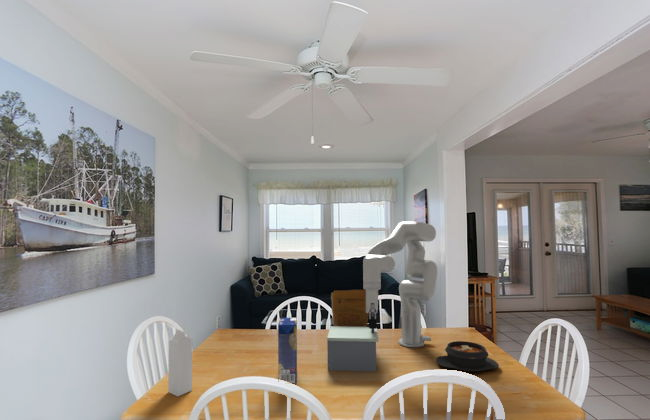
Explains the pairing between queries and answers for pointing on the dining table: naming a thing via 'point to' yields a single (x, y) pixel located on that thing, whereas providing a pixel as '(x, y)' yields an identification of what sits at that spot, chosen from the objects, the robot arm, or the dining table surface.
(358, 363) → the storage box
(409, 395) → the dining table surface
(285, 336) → the beverage box
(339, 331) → the lid
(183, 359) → the milk
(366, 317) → the pancake mix bag
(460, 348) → the casserole
